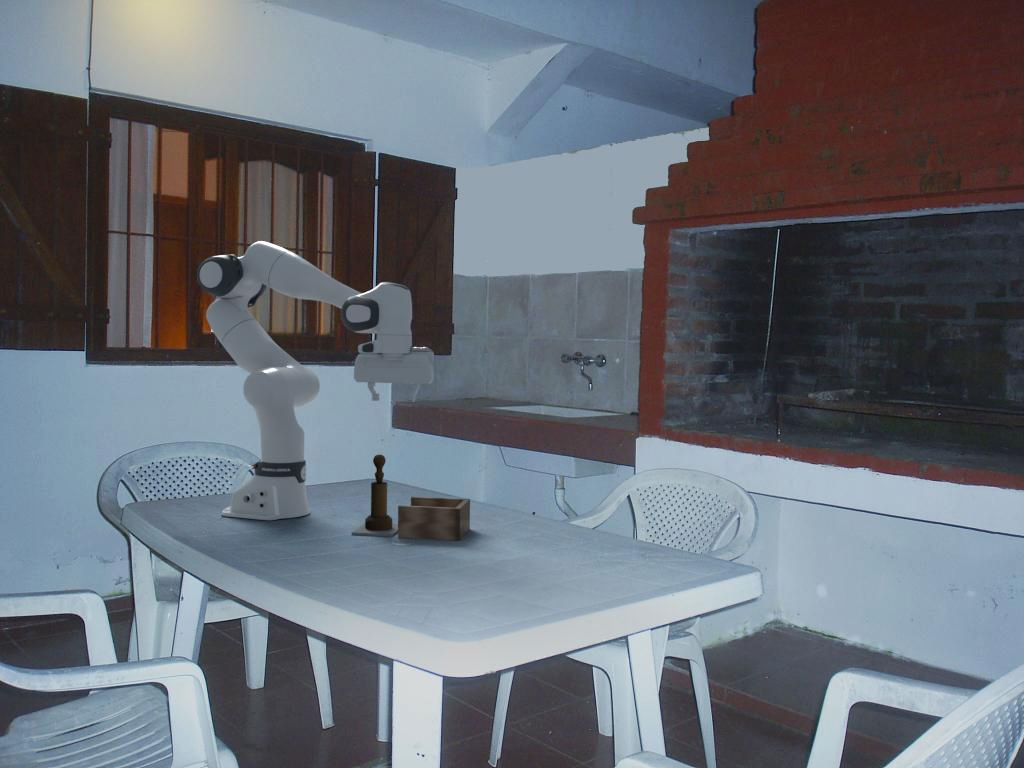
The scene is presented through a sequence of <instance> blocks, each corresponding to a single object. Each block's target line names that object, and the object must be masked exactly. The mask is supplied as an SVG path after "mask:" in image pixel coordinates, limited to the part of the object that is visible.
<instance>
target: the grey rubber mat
mask: <svg viewBox="0 0 1024 768" xmlns="http://www.w3.org/2000/svg"><path fill="white" fill-rule="evenodd" d="M396 534H398V523H393V522H392V528H391V529H388V530H369V529H366V528H365V523H363V524H362V525H360V526H359V527H357V528H355V529H354V530H353V531H352V532H351V536H365V537H366V536H367V537H368V536H370V537H387V538H392V537H394V536H395V535H396Z"/></svg>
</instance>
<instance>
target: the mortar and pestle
mask: <svg viewBox="0 0 1024 768" xmlns="http://www.w3.org/2000/svg"><path fill="white" fill-rule="evenodd" d="M386 460H387V459H386V457H385V456H384V455H383V454H376V455H374V456H373V459H372V463H373V465H374V466H375V469H376V470H375V471H376V472H374V477H375V481H372V482H371V483H370V488H371V489H370V514H369V515H368V516H367V517H366V518H365V519H364V521H365V522H364V524H365V528H366V529H369V530H388V529H391V528H392V523H393V518H392V517H391V516H390V515H388V482H387V481H383V480H384V475H385V473H384V472H383V468H384V466H385V464H386Z"/></svg>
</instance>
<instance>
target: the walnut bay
mask: <svg viewBox="0 0 1024 768" xmlns="http://www.w3.org/2000/svg"><path fill="white" fill-rule="evenodd" d="M397 506H398V507H397V524H398V533H397V537H398V538H399V539H417V540H418V539H419V540H438V541H441V540H442V541H461V539H462V538H463V537H464V536H465V535H466V534H467V532H469V531H470V528H471V527H470V526H471V525H470V524H471V522H470V520H471V517H470V516H471V499H470V498H457V497H456V498H453V497H452V498H451V497H433V496H432V497H431V496H428V497H427V496H411V497H410V505H397Z"/></svg>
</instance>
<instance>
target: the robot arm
mask: <svg viewBox="0 0 1024 768" xmlns="http://www.w3.org/2000/svg"><path fill="white" fill-rule="evenodd" d="M196 278H197V283H198V286H200V288H201V289H202V290H203V291H204V292H205V293H207V294H209V295H211V296H212V297H215V299H214V301H213V302H212V303H211V304H210V305H209V306H208V308H207V309H206V314H205V317H206V320H207V322H208V325H209V327H210V329H211V330H212V332H213V334H214V335H215V337H216V338H217V340H218V341H219V343H220V344H221V345H222V347H223V348H224V349H225V350H226V352H227V353H228V354H229V356H230V357H231V358H232V359H233V361H234V362H235V363H236V364H237V366H238V367H239V368H241V369H242V371H245V372H247V373H250V374H249V375H248V376H247V377H246V379H245V380H244V383H243V387H242V390H243V391H242V392H243V396H244V399H245V400H246V402H247V403H248V404H249V405H250V406H251V407H252V409H253V410H254V412H255V416H256V418H257V422H258V426H259V431H260V432H259V433H260V454H261V455H260V460H259V461H257V462H255V463H253V464H252V465H251V466H252V468H251V469H252V470H254V475H252V476H251V477H250V478H248V479H247V480H245V481H244V482H243V483H242V484H240V485H239V486H238V487H237V488H235V489H234V491H233V494H232V496H231V501H230V506H228V507H226V508H224V509H223V510H222V512H221V516H222V515H223V517H231V518H241V519H251V520H260V521H261V520H262V521H275V520H280V519H291V518H293V519H294V518H298V517H303V516H307V515H309V514H310V513H311V510H310V507H309V502H308V498H307V497H308V496H307V491H306V481H307V480H306V478H307V461H306V459H305V432H304V429H303V427H302V426H301V425H300V424H299V423H298V420H297V416H296V411H295V408H298V407H302V406H305V405H307V404H309V403H310V402H312V401H313V400H314V399H316V398H317V396H318V395H319V393H320V390H321V389H320V387H321V385H320V379H319V376H318V375H317V374H316V373H315V372H314V371H313V370H311V369H309V368H307V367H305V366H304V365H302V364H301V363H300V362H299V361H297V360H296V359H295V358H294V357H292V356H291V355H290V354H289V353H287V352H286V351H285V350H284V349H283V348H282V347H281V346H279V345H278V344H277V343H276V342H275V341H274V340H273V339H272V337H271V336H270V335H269V333H267V332H266V330H265V329H264V328H263V326H261V325H260V323H259V322H258V321H257V319H256V318H255V316H253V314H252V313H251V312H250V310H249V308H252V307H254V306H255V305H256V303H257V301H258V299H259V298H261V296H262V295H263V294H264V292H265V291H266V289H267V287H268V288H270V289H271V290H273V291H275V292H277V293H279V294H281V295H285V296H286V297H290V298H295V299H299V300H309V301H316V302H323V303H327V304H329V305H332V306H335V307H336V308H338V309H341V310H340V320H341V321H342V322H341V323H342V324H343V325H344V327H345V328H346V329H347V330H349V331H352V332H353V333H357V334H373V335H376V339H375V340H370V341H369V342H365V343H362V344H359V345H358V346H357V350H358V353H359V354H358V355H357V356H356V358H355V361H354V368H353V379H354V380H355V382H356V383H367V389H368V390H369V392H370V393H371V401H374V402H375V401H380V393H378V392H376V390H375V388H374V387H376V384H377V383H379V384H411V385H412V389H413V391H412V392H411V393H409V394H408V395H407V397H408V399H407V401H408V402H410V403H411V402H412V403H413V402H414V403H415V402H416V396H417V394H418V392H419V389H420V388H421V386H420V385H422V384H423V385H430V384H432V383H433V382H434V380H435V379H434V378H435V377H434V375H435V374H434V365H433V364H434V362H435V353H434V351H433V350H432V349H430V348H429V347H427V346H423V347H420V346H419V347H418V346H413V343H412V342H413V340H412V339H413V336H412V335H413V332H412V329H411V323H412V319H413V302H412V295H411V291H410V289H409V287H407V286H406V285H403V284H400V283H394V282H390V281H382V282H380V283H379V284H377V285H376V286H375V287H374V288H372V289H370V290H368V291H366V292H361V291H358V290H356V289H354V288H353V287H351V286H349V285H347V284H344V283H342V282H341V281H339V280H336V279H335V278H333V277H332V276H330V275H329V274H327V273H325V272H324V271H323V270H321V269H319V268H318V267H317V266H315V265H314V264H312V263H311V262H310V261H307V260H306V259H304V258H303V257H302V256H299V255H298V254H296V253H294V252H293V251H291V250H289V249H287V248H284V247H282V246H279V245H277V244H273V243H270V242H268V241H263V240H260V241H257V242H254V243H252V244H250V246H248V248H247V249H246V251H245V253H244V254H243V255H242V256H240V257H239V256H238V257H237V255H236V254H222V255H221V254H220V255H214V256H213V255H212V256H210V257H207V258H206V259H204V260H203V261H202V262H201V263H200V265H199V266H198V268H197V273H196Z"/></svg>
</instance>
